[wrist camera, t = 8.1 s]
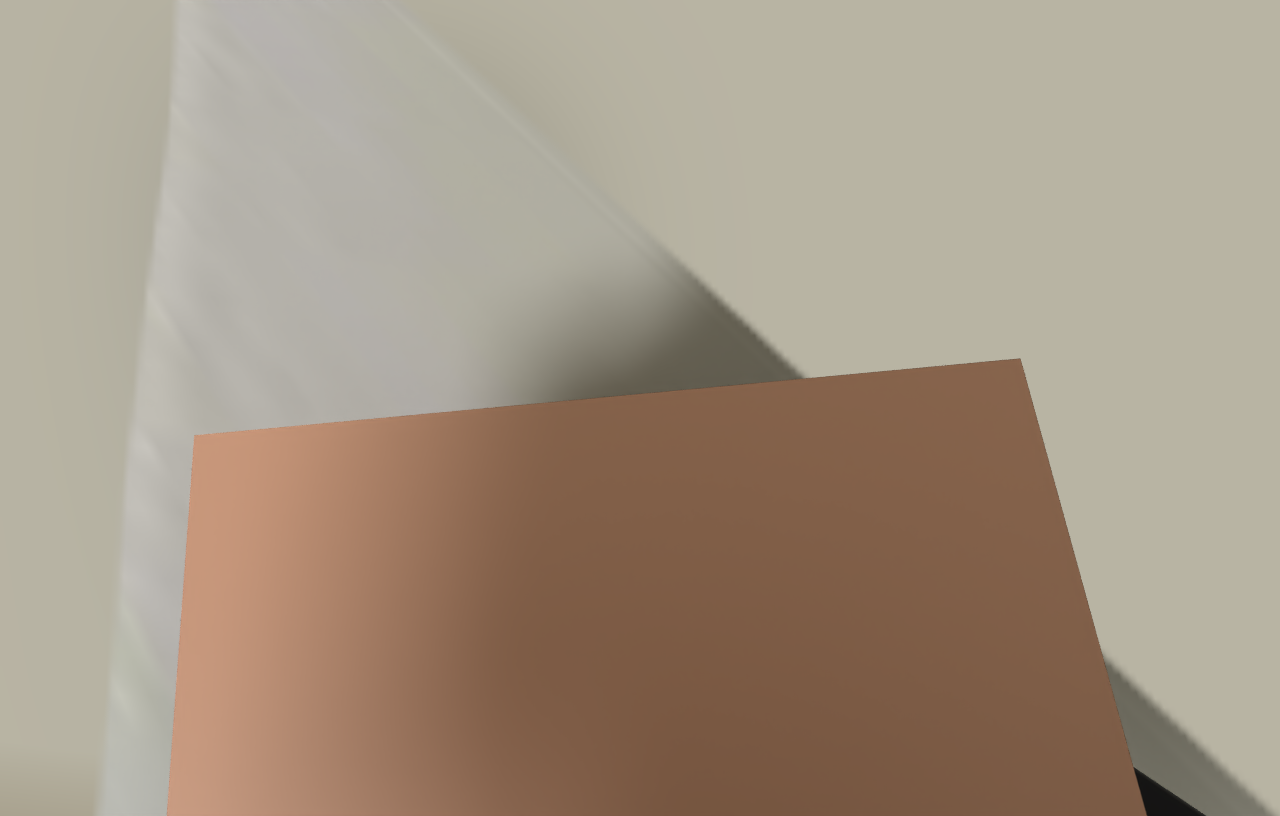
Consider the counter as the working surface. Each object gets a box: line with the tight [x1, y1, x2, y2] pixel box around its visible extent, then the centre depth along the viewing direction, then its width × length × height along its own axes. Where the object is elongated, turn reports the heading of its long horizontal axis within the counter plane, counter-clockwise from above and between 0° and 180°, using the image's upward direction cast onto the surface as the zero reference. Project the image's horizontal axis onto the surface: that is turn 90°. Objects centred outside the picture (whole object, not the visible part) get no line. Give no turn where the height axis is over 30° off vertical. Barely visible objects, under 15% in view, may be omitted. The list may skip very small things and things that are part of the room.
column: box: [167, 359, 1147, 816], centre depth 9 cm, size 5×5×12 cm
